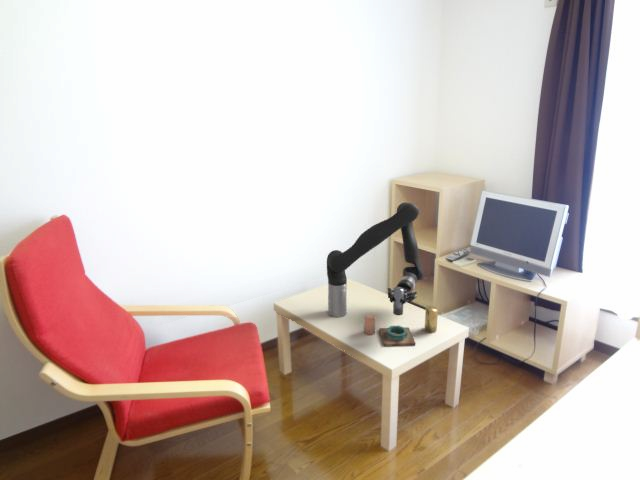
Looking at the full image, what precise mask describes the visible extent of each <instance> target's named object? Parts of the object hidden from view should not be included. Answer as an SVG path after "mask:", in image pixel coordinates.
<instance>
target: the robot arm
mask: <svg viewBox="0 0 640 480" xmlns="http://www.w3.org/2000/svg"><path fill="white" fill-rule="evenodd" d="M419 214H420V211H419V207H418V206H417V205H415V204H414V203H411V202H402V203H400V204H399V205H398V206H397V208H396V213H394V214H393V215H392V216H391V217H388V218H387V219H384V220H381V221H380V222H377V223H375V224H374V225H372V226H370V227H369V228H367V229H366V230H365V231H364V232H362V233H361V234H360V235H359V237H358V238H356V240H355V242H354V243H353V244H352V245H351V246H350V247H349V248H348V249H346V250H345V251H343V252H342V251H340V250H337V249H336V250H331V251H330V252H329V253H328V254H327V257H326V276H327V283H328V288H327V289H328V291H327V292H328V293H327V301H328V302H327V304H328V305H327V306H328V307H327V309H328V310H327V311H328V316H329V317H334V318H343V317H345V316H346V315H347V310H348V309H347V306H348V305H347V303H348V302H347V301H348V300H347V296H348V295H347V289H348V288H347V285H348V283H347V282H348V281H347V280H348V278H347V274H346V270H347V269H348V268H350V267H351V266H352V265H353V264H354V263H355V262H356V261H358V260H359V259H360V258H362V257H363V256H365V255H366V254H367V253H369V252H370V251H371V250H373V249H375V248H376V247H377V246H380V244H382V243H383V242H384V241H386V240H387V239H388V238H389V237H391V236H392V235H394V234H395V233H396V232H397V231H398V230H400V231H401V236H402V237H401V238H402V244H403V255H404V261H405V262H406V263H408V264H411V265H413V266H406V267H404V268H403V269H402V277H401V279H400V280H399V282H398V283H397V285H395V287H402V288H404V298H403V299H402V304H403V306H404V304H406V303H407V302H410V303H411V302H412V301H413V300H415V299H417V296H418V292H417V291H414V290H415V287H416V284H417V282H418V281H422V280H423V279H424V278H425V271H424V268H423V265H422V263H421V261H420V256H419V247H418V242H417V238H416V235H415V232H414V231H415V230H414V225H413V224H414V222H415V220H416V219H418V217H419ZM387 298H388V299H389V302H390V303H393V300H394V289H391V287H388V288H387Z"/></svg>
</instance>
